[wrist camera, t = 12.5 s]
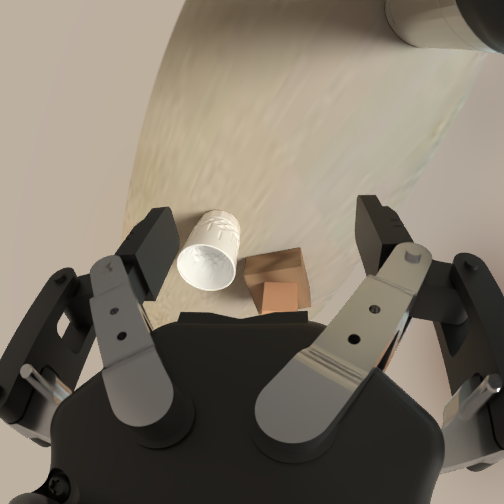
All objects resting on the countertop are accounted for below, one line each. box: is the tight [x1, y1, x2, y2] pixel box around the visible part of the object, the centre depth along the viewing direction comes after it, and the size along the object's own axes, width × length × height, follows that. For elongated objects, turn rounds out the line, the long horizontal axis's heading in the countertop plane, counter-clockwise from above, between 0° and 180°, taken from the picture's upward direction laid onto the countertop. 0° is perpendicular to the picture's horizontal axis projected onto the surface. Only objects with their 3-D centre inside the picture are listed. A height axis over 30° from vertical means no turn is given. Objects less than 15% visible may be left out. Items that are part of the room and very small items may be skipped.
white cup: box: [177, 210, 240, 291], centre depth 43 cm, size 8×8×10 cm
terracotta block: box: [262, 282, 298, 315], centre depth 45 cm, size 5×5×6 cm
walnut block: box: [243, 247, 311, 314], centre depth 49 cm, size 9×9×5 cm
